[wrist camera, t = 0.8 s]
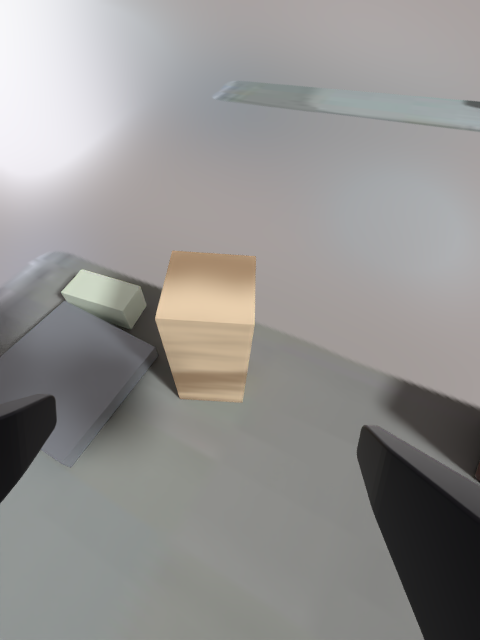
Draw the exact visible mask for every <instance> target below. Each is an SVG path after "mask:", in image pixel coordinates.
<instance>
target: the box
mask: <svg viewBox="0 0 480 640" xmlns="http://www.w3.org/2000/svg"><path fill="white" fill-rule="evenodd" d="M475 477H476V478H477V479H478V480H479V481H480V462H479V464H478V468H477V471H476V474H475Z"/></svg>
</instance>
